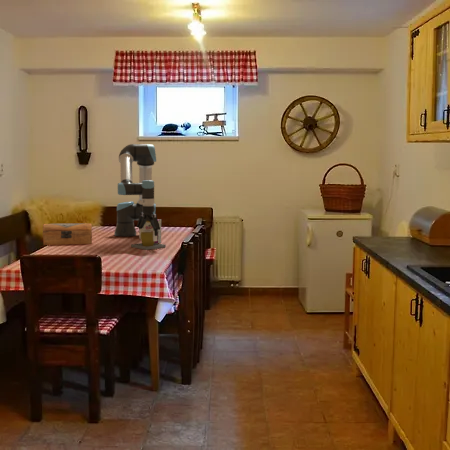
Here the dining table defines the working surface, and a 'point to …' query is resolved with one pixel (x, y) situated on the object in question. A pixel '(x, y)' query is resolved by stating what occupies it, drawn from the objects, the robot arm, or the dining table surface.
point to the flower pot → (147, 238)
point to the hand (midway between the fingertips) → (148, 240)
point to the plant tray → (148, 246)
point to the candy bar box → (149, 228)
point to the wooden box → (67, 234)
